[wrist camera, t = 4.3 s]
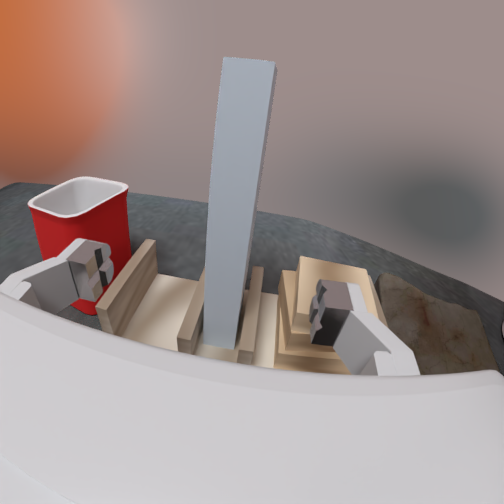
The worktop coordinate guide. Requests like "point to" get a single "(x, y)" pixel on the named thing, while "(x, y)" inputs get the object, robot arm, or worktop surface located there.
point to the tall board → (235, 191)
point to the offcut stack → (297, 315)
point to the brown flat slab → (434, 329)
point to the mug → (84, 222)
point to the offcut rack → (188, 312)
